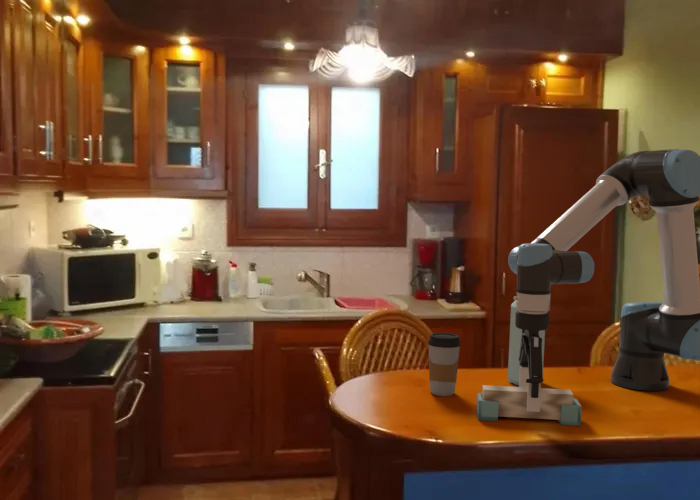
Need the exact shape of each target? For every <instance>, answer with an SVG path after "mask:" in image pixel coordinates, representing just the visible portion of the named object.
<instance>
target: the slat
mask: <svg viewBox="0 0 700 500" xmlns="http://www.w3.org/2000/svg"><path fill="white" fill-rule="evenodd" d="M481 393H482V400H488V401H499V408H498V417H505V418H522V419H538V420H539V419H542V420H557V421H558V420H561V405H573V398H574V393H573V392H572V390H571V389H563V388H562V389H561V388H543V387H541V394H540V412H531V411H527V393H528V388H527V387H519V386H504V385H489V384H488V385H487V384H485V385H484V384H482V387H481Z"/></svg>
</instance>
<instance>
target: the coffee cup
mask: <svg viewBox="0 0 700 500" xmlns="http://www.w3.org/2000/svg"><path fill="white" fill-rule="evenodd" d="M429 336H430V337H429V338H428V343H427V344H428V375H429V376H428V377H429V391H430V392H431V394H432V395H435V396H440V397H450V396H453V395H454V394H455V392H456V386H457V385H456V384H457V379H458V369H459V362H460V361H459V359H460V358H459V356H460V347H461V340H460V337H459V335H458V334H454V333H451V332H450V333H448V332H433V333H431V334H430V335H429Z"/></svg>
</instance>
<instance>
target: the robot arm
mask: <svg viewBox="0 0 700 500" xmlns="http://www.w3.org/2000/svg"><path fill="white" fill-rule="evenodd" d="M636 197H648V199H647V200H648V206H649V207H650V208H651V209H652V210H653V211H654V212H655V214H656V224H657V235H658V247H659V258H660V266H661V267H660V268H661V279H662V287H663V299H664V300H663V301H635V302H634V301H633V302H626V303H624V305H623V306H622V307H621V314H620V321H619V322H620V324H619V345H618V346H619V348H618V356H617V358H616V361H615V363H614V366H613V368H612V370H611V372H610V373H611V374H610V382H611V383H612V384H614V385H616V386H619V387H621V388H624V389H630V390H637V391H646V392H660V391H661V392H662V391H666V390H668V389H669V388H670V376H669V374H668V369H667V365H666V362H665V354H667V355H670V356H675V357H677V358H680V359H681V358H682V359H684V360H692V361H695V362H698V361H700V274H699V273H700V272H699V262H698V250H697V249H698V248H697V239H696V238H697V235H696V226H695V225H696V224H695V213H694V211H695V210H694V209H695V207H696V205H698V203H700V155H699V153H698V152H696V151H694V150H691V149H679V148H675V149H674V148H673V149H672V148H670V149H658V150H640V151H637V152H633V153H631V154H629V155H627V156H625V157H623V158H622V159H620V160H618V161H617V162H615V163H614V164H612V165H611V166H610V167H609V168H607V169H606V170H605V171H603V173H601V174H600V175H599V176H598V177H597V178H596V181H595V185H594V186H593V187H592V188H590V189H589V191H587V192H586V193H585V194H584V195H582V196H581V198H580V199H578V200H577V201H576V202H575V203H574V204H573V205H572V206H571V207H570V208H568V209H567V210H566V211H565V212H564V213H563V214H562V215H560V216H559V217H558V218H557V219H556V220H555V221H554V222H552V223H551V224H550V225H549V226H548V227H547V228H546V229H545V230H544V231H543V232H542V233H540V234H539V235H538V236H537V237H536V238H535V239H534V240H532V241H531V242H530V243H526V242H525V243H522V244H520V245H518V246H515V247H513V248H512V249H511V251H510V252H509V254H508V257H507V258H508V259H507V262H508V267H509V268H510V270H511V272H513V273H514V274H516V295H515V296H513V300H514V301H515V300H517V301H516V308H517V309H518V310H519V311H517V312H516V315H515V326H516V327H517V328H519V329H522V337H521V346H520V354H519V362H520V363H519V364H520V366H522V367H520V376H519V386H518V387H527V388H528V393H527V411H531V412H540V394H541V388H542V387H541V386H542V383H543V382H544V377H543V376H544V370H543V371H542V338H540V336H539V331H540V330H545V331H547V330H548V329H549V328H550V314H549V311H551V289H552V285H553V286H554V285H566V284H567V285H573V284H574V285H578V284H582V283H583V284H584V283H587V282H589V281H590V280H591V279H592V278H593V276H594V272H595V261H594V259H593V257H592V256H591V254H589V253H588V252H586V251H579V250H578V251H577V250H573V251H572V250H571V251H568V250H570V248H572V246H574V245H575V244H576V243H578V241H579V240H580V239H582V237H584V236H585V235H586V234H587V233H589V232H590V230H591V229H593V228H594V227H595V226H596V225H597V224H598V223H599V222H600V221H601V220H603V218H604V217H606V216H607V215H608V214H609V213H610V212H611V211H612V210H614V208H616V207H618V206H624V205H625V204H626V203H627V202H628V201H629V200H631V199H633V198H636ZM534 376H537V377H534Z"/></svg>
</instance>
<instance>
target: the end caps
mask: <svg viewBox="0 0 700 500" xmlns="http://www.w3.org/2000/svg"><path fill="white" fill-rule="evenodd" d="M475 406H476V408H475V409H476V410H475V413H476V416H477V420H478V421H485V422H499V416H498V408H499V401H488V400H482V392H476V405H475ZM582 410H583V407H582V405H581V404H580V401H578V399H577V398H575V397H573V405H561V420H557V421H558V423H559V424H560V426H575V427H581V426H582V414H583V413H582V412H583V411H582Z"/></svg>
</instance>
